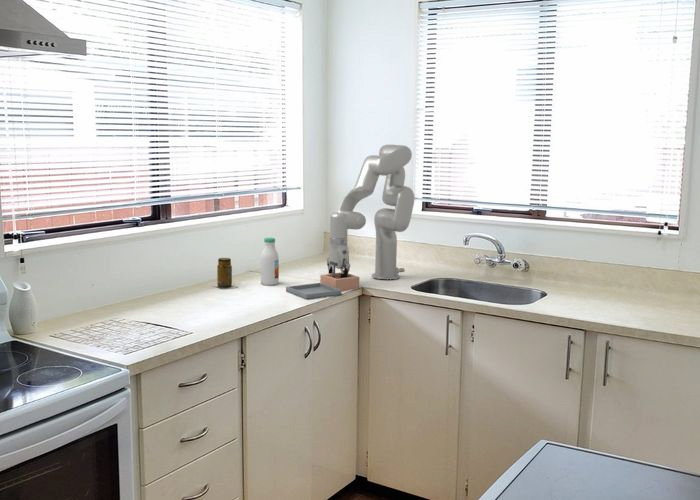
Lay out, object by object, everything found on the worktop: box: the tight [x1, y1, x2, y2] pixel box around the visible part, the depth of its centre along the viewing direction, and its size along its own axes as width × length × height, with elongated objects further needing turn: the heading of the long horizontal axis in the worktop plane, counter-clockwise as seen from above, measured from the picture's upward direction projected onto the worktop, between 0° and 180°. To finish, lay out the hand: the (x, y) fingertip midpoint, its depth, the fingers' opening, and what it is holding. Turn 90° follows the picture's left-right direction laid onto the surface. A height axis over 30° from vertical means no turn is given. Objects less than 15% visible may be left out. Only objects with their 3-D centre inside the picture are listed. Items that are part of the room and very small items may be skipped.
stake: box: [330, 261, 338, 278], centre depth 323 cm, size 1×5×11 cm, turn 34°
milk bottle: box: [260, 237, 280, 286], centre depth 329 cm, size 8×8×20 cm
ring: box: [319, 271, 360, 292], centre depth 325 cm, size 12×12×5 cm
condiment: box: [212, 257, 237, 290], centre depth 322 cm, size 7×8×12 cm
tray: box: [285, 282, 342, 300], centre depth 313 cm, size 17×17×2 cm
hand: (337, 280), depth 331 cm, fingers open, 9 cm apart
